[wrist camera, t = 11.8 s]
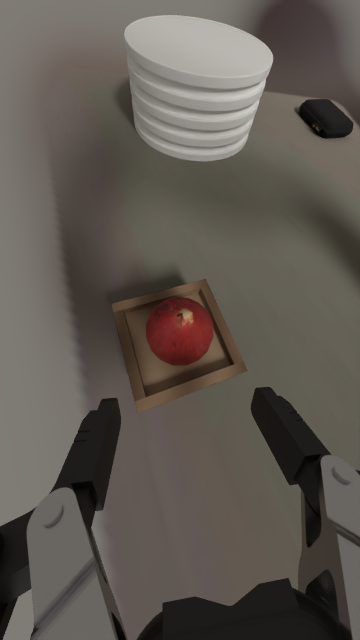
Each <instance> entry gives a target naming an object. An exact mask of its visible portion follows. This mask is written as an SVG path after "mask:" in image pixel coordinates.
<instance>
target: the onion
mask: <svg viewBox="0 0 360 640" xmlns="http://www.w3.org/2000/svg"><path fill="white" fill-rule="evenodd" d="M213 337H214V336H213V322H212V320H211V317H210V315H209V313H208V311H207V310H206V309H205V308H204V307H203V306H202V305H201V304H200V303H198V302H196V301H194V300H192V299H190V298H184V297H174V298H171V299H167V300H164V301H163V302H162V303H160V304H159V305H158V306H157V307H155V308H154V309H153V310H152V312H151V314H150V316H149V318H148V320H147V322H146V339H147V341H148V344H149V346H150V349H151V351H152V352H153V353H154V354H155V355H156V356H157V357H158V358H159V359H160V360H162V361H164V362H166V363H168V364H170V365H173V366H187V365H189V364H191V363H194V362H196V361H198V360H200V359H201V358H202V356H203V355H204V354H205V353H206V352H207V351H208V349H209V347H210V344H211V342H212V339H213Z"/></svg>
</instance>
